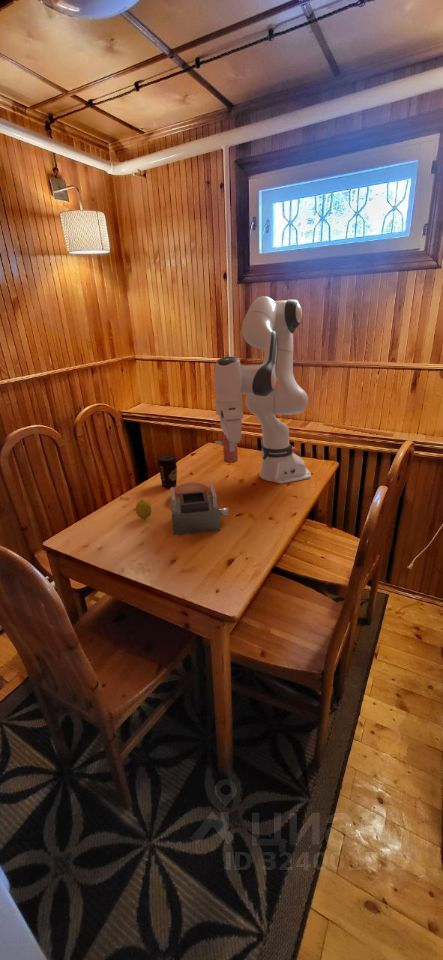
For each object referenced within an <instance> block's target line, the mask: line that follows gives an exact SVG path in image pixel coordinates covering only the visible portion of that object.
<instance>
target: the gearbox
mask: <svg viewBox="0 0 443 960" xmlns="http://www.w3.org/2000/svg"><path fill="white" fill-rule="evenodd" d="M208 486H209V487H208V488H209V489H210V492H209V494H208V495H206V491H199V492H189V493H179V497H180V498H177V499H175V490H174V488H175V487H171V488H170V494H171V499H170V511H171V523H172V532H173V533H172V534H173V536H181V535H192V534H200V533H208V532H217V531H221V521H220V520H221V519H220V516H225V515H230V508H229V507H221V508H220V507H219V505H218V501H217V494H216V489H215V486H214V483H209V484H208Z"/></svg>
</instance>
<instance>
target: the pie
mask: <svg viewBox="0 0 443 960" xmlns="http://www.w3.org/2000/svg"><path fill="white" fill-rule="evenodd" d="M174 490H175V499H177V498H180V497H179V493H189V492H199V491H206V495H210V489H209V487H208V486H207V485H205V484H202V483H200V482H199V483H198V482H187V483H182V484H180V485H178V486H177V485H176V486H175V487H174Z"/></svg>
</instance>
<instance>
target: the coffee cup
mask: <svg viewBox="0 0 443 960" xmlns="http://www.w3.org/2000/svg"><path fill="white" fill-rule="evenodd" d="M156 464H157V466H158V470H159V474H160V481H161V487H162V488H163V489H166V490H168V489H170V490H171V487H174V488H175V487H177V481H178V480H177V478H178V477H177V476H178V472H177V471H178V466H177V464H178V459H177V458H176V457H175V455H173V454H172V455H170V454H166V455H161V456H159V457H158V460H157V462H156Z"/></svg>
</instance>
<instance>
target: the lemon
mask: <svg viewBox="0 0 443 960" xmlns="http://www.w3.org/2000/svg"><path fill="white" fill-rule="evenodd" d="M135 513H136V515H137V516H138V518H140V519H143V520H147V519H148V518H149V517H150V516H151V514H152V506H151V504H150V502H149V501H148V500H146V499H143V498H142V499H141V500H139V501H138V502H137V503H136V505H135Z"/></svg>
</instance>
